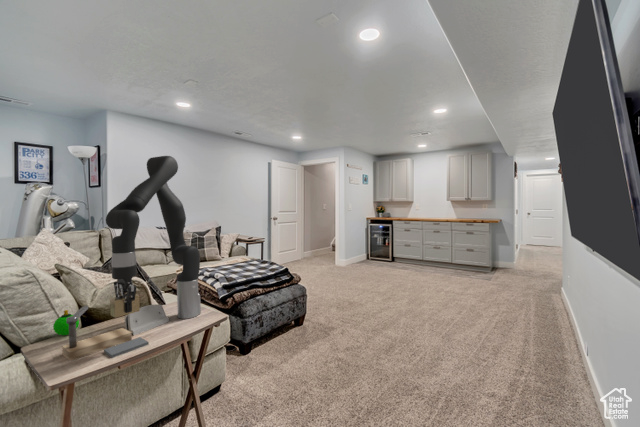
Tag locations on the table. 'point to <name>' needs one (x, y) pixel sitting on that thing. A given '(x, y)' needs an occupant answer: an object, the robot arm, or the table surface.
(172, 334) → the table surface
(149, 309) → the grey upright curved plate
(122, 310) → the tan rectangular block
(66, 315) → the ornament
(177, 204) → the robot arm
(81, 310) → the lever
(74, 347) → the wooden base stand
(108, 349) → the mat
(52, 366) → the table surface
